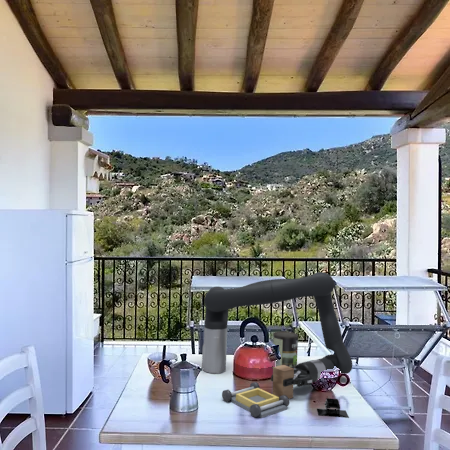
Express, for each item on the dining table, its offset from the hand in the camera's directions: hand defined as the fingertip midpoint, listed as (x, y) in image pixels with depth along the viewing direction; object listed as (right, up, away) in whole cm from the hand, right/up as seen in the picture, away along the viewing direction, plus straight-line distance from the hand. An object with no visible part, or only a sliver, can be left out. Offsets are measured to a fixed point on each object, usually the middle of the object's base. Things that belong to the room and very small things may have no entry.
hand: (277, 380), depth 149 cm
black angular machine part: (+16, -7, -10) cm, 20 cm away
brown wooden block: (+2, -6, +2) cm, 7 cm away
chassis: (-8, -6, -5) cm, 11 cm away
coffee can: (+7, -6, +32) cm, 34 cm away
